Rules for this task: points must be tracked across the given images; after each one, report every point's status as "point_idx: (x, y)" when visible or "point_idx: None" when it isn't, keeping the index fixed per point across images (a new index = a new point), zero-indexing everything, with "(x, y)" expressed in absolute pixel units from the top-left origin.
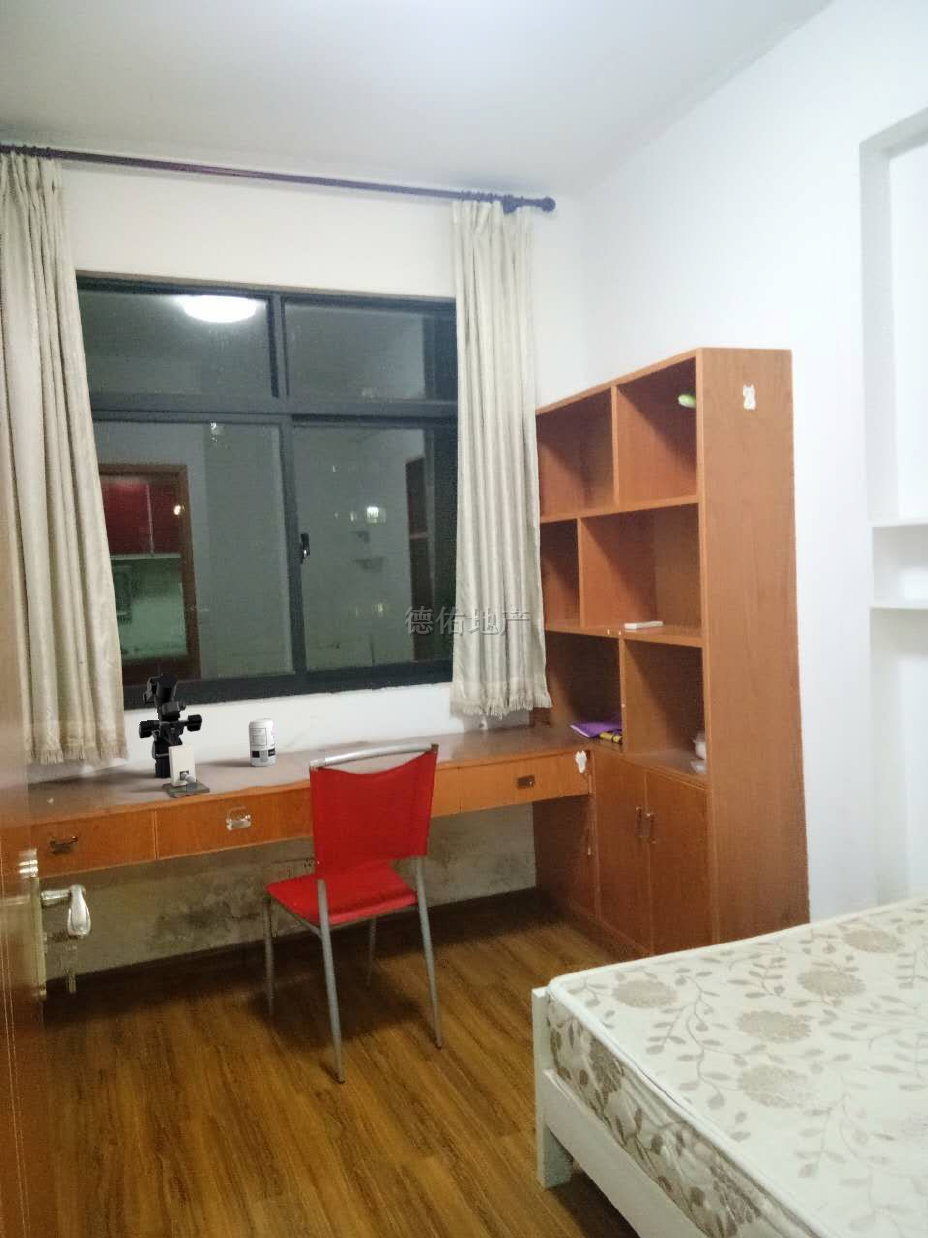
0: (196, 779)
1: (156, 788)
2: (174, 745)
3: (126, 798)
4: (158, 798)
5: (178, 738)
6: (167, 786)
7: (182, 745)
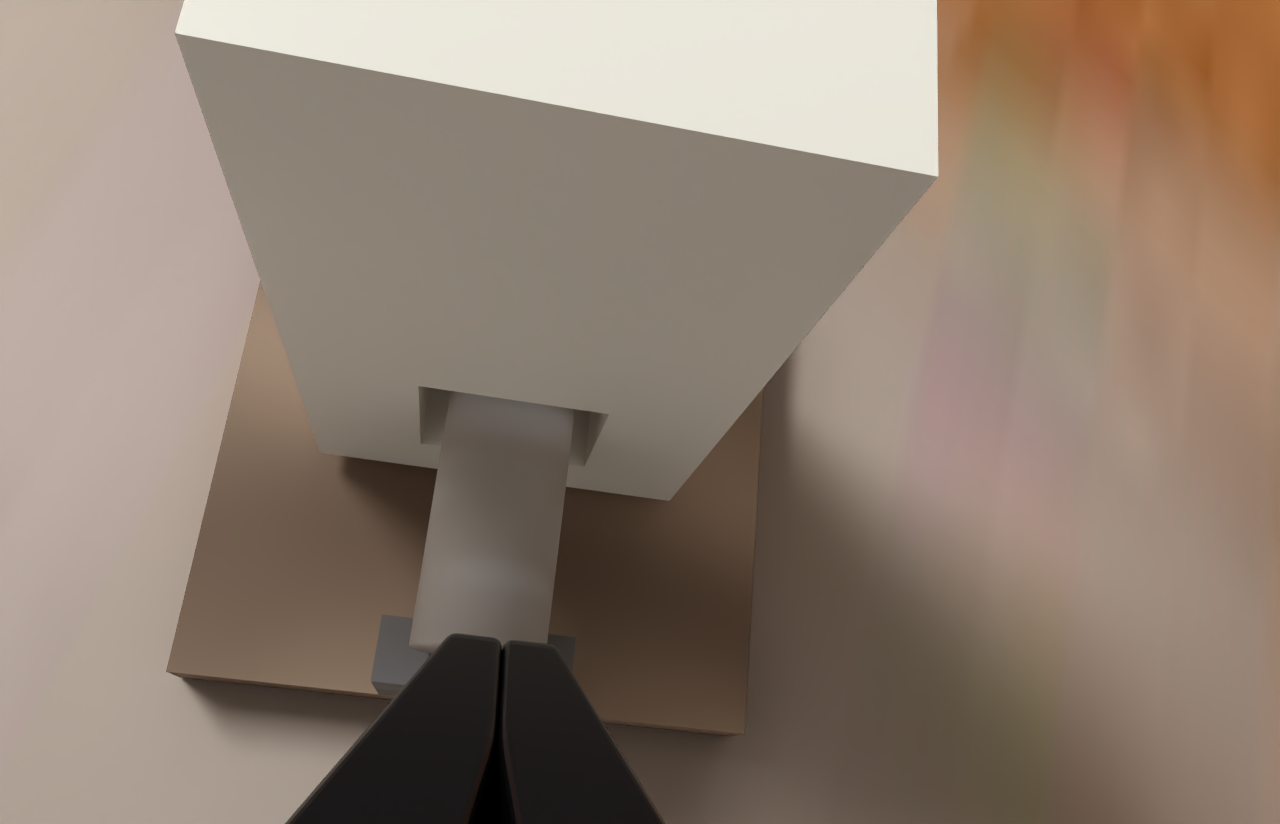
0: (188, 589)
1: (821, 754)
2: (568, 678)
3: (1246, 482)
4: None
5: (290, 817)
6: (731, 487)
7: (498, 19)
